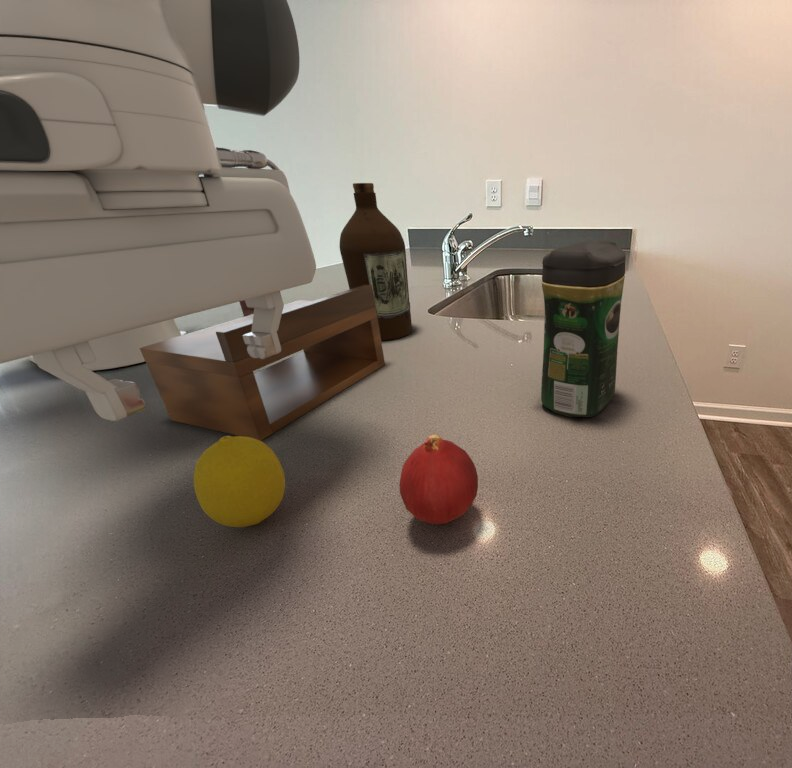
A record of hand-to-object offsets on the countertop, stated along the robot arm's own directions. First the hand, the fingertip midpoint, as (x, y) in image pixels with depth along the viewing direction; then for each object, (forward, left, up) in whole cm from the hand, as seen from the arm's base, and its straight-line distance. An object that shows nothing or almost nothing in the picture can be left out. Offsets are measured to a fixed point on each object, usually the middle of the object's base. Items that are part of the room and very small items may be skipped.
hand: (205, 380), depth 27 cm
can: (-44, +40, -13) cm, 61 cm away
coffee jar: (+20, +28, -13) cm, 37 cm away
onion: (+14, +5, -13) cm, 19 cm away
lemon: (0, 0, -13) cm, 13 cm away
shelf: (-17, +20, -13) cm, 29 cm away
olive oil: (-19, +44, -13) cm, 50 cm away
